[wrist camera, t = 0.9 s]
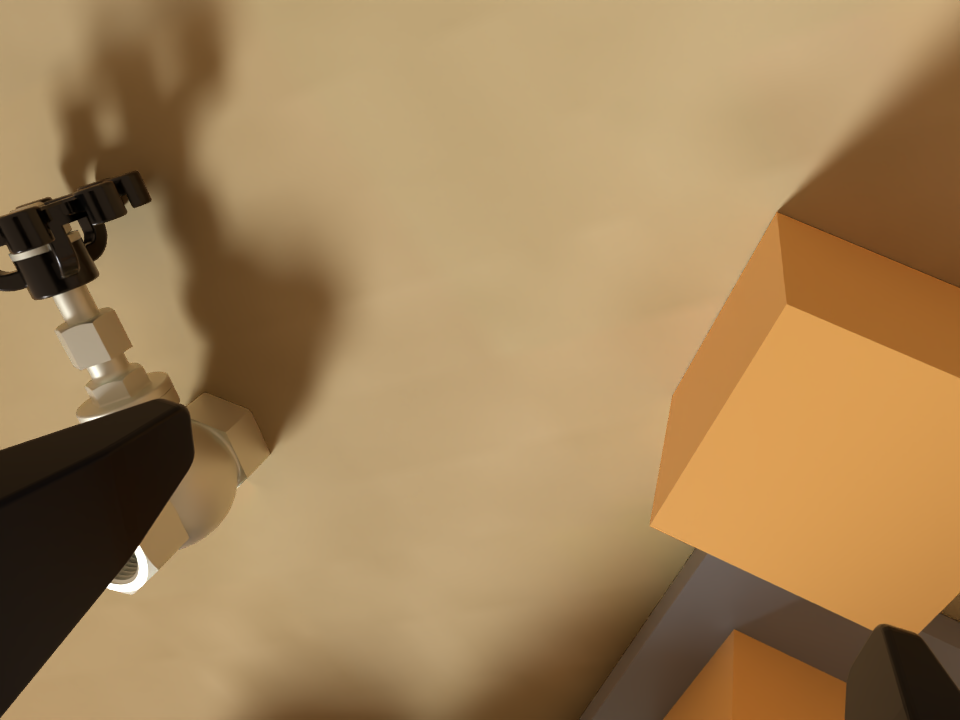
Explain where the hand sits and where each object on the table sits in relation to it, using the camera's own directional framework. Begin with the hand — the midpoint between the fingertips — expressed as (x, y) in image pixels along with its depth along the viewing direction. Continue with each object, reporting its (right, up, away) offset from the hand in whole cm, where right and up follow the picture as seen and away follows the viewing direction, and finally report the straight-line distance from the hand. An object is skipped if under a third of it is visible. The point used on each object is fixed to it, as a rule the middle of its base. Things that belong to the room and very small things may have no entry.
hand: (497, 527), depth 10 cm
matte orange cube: (+9, +2, +11) cm, 14 cm away
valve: (-11, +3, +18) cm, 21 cm away
